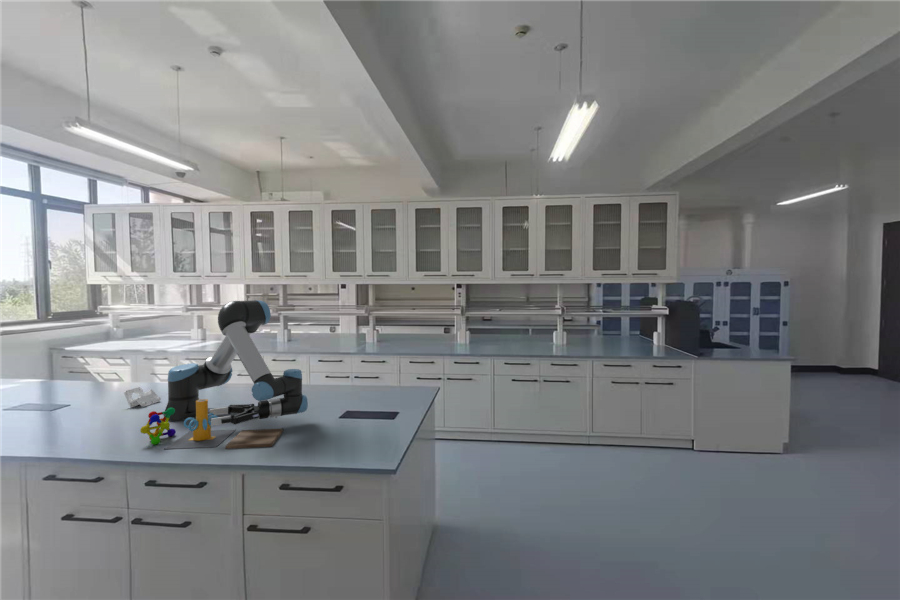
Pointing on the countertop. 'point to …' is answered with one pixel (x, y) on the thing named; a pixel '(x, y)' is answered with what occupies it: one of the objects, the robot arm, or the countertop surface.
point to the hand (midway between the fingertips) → (210, 417)
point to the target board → (255, 438)
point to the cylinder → (201, 421)
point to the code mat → (188, 441)
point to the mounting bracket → (141, 397)
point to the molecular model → (161, 424)
